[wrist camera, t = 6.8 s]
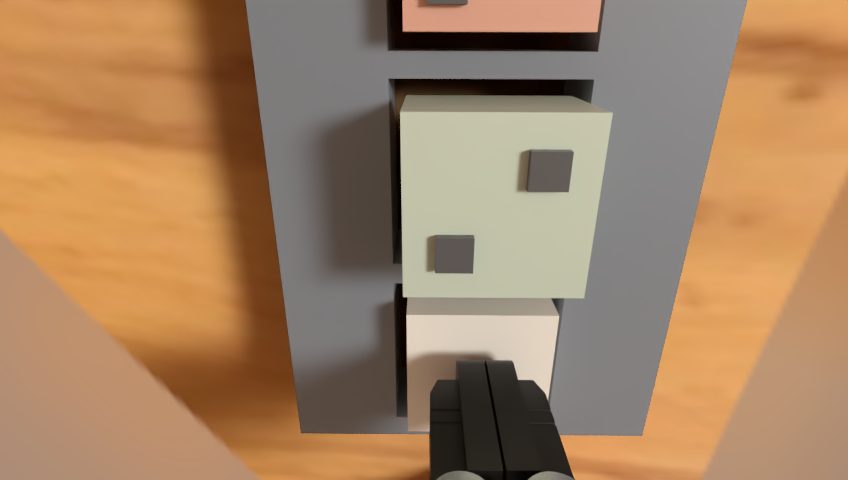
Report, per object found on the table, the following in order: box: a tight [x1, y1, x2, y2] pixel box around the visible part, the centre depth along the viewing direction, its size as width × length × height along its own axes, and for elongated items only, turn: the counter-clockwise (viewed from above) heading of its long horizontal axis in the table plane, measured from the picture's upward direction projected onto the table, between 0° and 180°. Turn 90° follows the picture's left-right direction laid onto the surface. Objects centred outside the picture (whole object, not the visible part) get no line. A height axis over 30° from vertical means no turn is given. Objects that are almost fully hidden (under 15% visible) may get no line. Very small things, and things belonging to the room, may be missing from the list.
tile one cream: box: [406, 297, 559, 432], centre depth 14 cm, size 4×4×3 cm
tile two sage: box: [400, 95, 613, 298], centre depth 11 cm, size 4×4×3 cm
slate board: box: [245, 0, 747, 436], centre depth 13 cm, size 11×17×2 cm, turn 0°
